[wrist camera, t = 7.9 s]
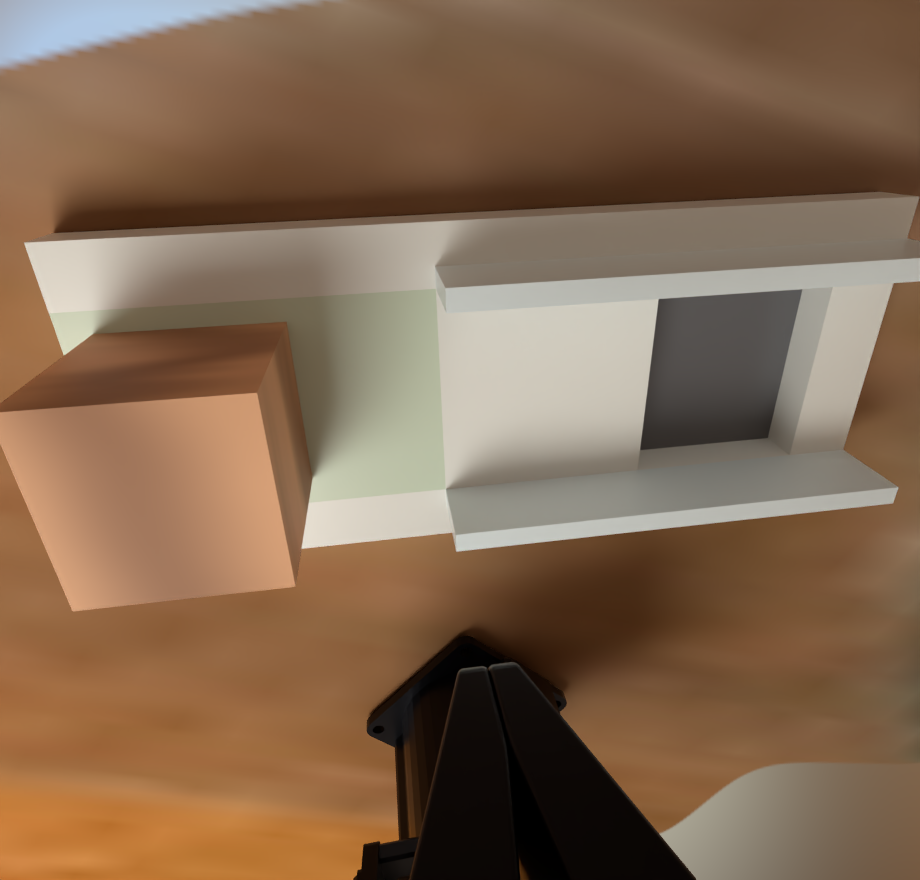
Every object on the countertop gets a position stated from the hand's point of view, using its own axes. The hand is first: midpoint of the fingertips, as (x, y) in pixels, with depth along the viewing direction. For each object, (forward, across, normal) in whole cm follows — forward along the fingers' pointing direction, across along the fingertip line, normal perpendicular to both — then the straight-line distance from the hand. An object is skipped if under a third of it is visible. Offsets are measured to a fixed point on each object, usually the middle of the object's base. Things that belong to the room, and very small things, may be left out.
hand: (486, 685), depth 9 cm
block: (+11, +6, 0) cm, 12 cm away
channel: (+12, -2, 0) cm, 12 cm away
